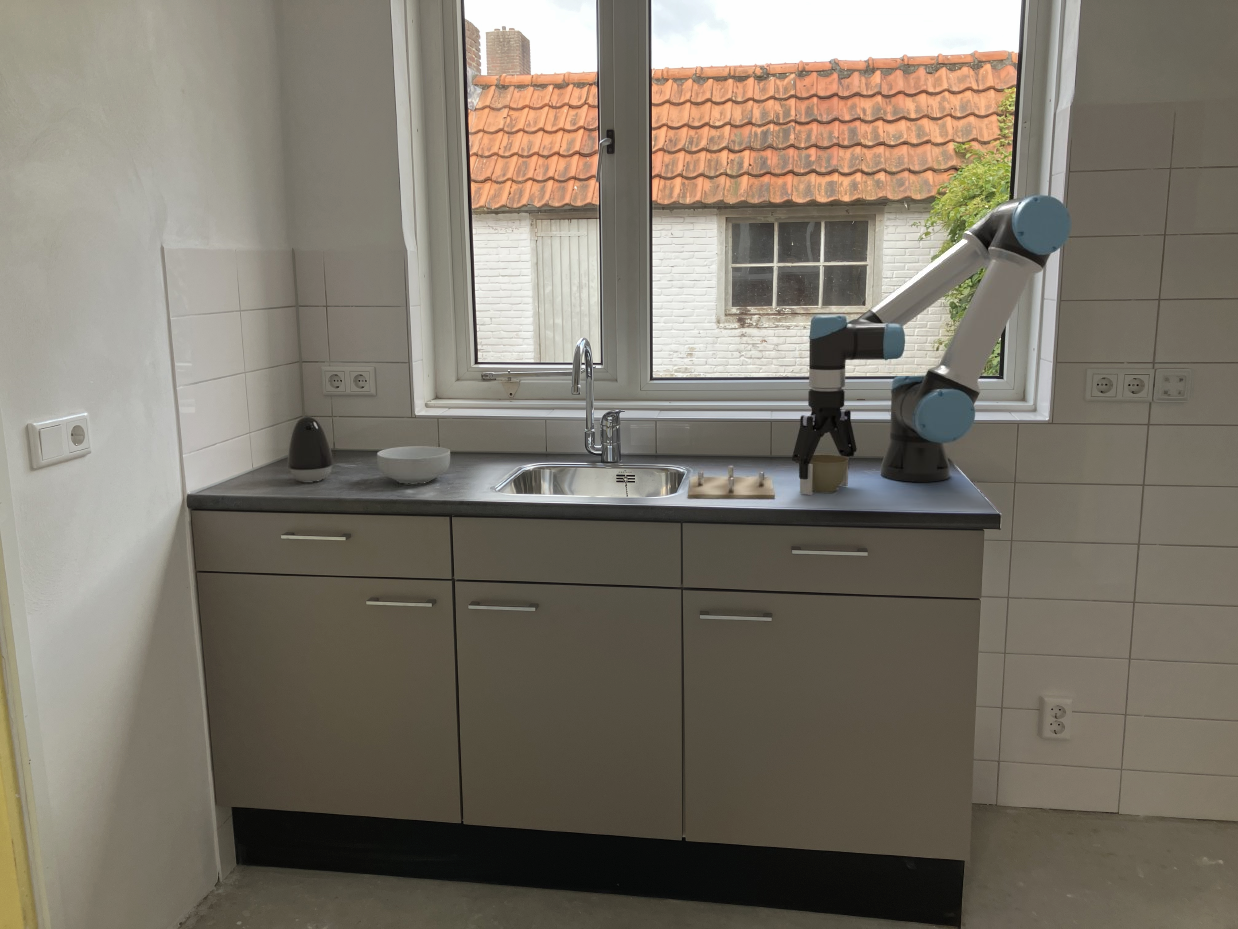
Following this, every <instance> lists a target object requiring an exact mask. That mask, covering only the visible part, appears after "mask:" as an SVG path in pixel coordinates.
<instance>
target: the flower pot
mask: <svg viewBox="0 0 1238 929" xmlns="http://www.w3.org/2000/svg"><path fill="white" fill-rule="evenodd" d="M839 455H840V454H839ZM839 455H838V454H828V453H827V454H826V453H814V454H813V457H812V459H811V461H810V464H813V475H812V492H814V493H820V494H833V493H835V492H837V490H838V489H839V487H840V484H841V482H842V480H843V478H844V476H845V473H846V471H847V467H848V462H849V463H850V457H849V458H847V457H844V456H841V455H840V456H839ZM805 458H806V457H805Z"/></svg>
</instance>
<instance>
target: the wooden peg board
mask: <svg viewBox="0 0 1238 929" xmlns="http://www.w3.org/2000/svg"><path fill="white" fill-rule="evenodd" d="M734 471H735V470H734V465H728V466H727V476H704V474H705V473H704V471H702V470H700V471H697V476H690V480H689V481H690V482H689V487H688V489H689V490H688V497H687V498H688V499H765V500H767V499H771V500H772V499H775V498H776V494H775V490H774V486H773V485H774V484H773V481H772V477H771V476H765V471H758V476H735V475H734V473H735V472H734Z"/></svg>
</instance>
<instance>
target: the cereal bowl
mask: <svg viewBox="0 0 1238 929" xmlns="http://www.w3.org/2000/svg"><path fill="white" fill-rule="evenodd" d="M376 460H377V461H376V462H377V466H378V469H379V471H380V472H381V473H382V474H383V475H384V476H386V477H388V478H389V479H392V480H394V481H396V482H397V483H398V482H399V483H398V484H401V483H423V484H425V483H424V482H428V483H430V482H429V481H431V480H432V481H433V479H435V478H438V477H440V476H442V475H443V474H445V472H446V471H447V470H448V468H449V466H450V463H451V450H450V449H448V448H445V447H439V446H423V445H420V446H419V445H418V446H412V445H411V446H399V447H390V448H386V449H382V450H380V451H377V453H376ZM432 481H431V482H432Z"/></svg>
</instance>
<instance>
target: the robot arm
mask: <svg viewBox="0 0 1238 929" xmlns="http://www.w3.org/2000/svg"><path fill="white" fill-rule="evenodd" d="M1071 230H1072V218H1071V216H1070V213H1069V210H1068V208H1067V206H1065V204H1064V203H1063V202H1062V201H1061V200H1059V199H1058V198H1056V197H1053V196H1051V195H1045V194H1044V195H1043V194H1032V195H1028V196H1026V197H1020V198H1011V199H1008V200H1006V201H1004V202H1002V203H1000V204H999V205H997V206H995V207H994V208H993V209H991V211H989V212H987V213H986V214H985V215H984V216H983V217H981V219H979V220H978V221H977V222H976V223H974V224H973V225H971V227H969V228H968V229H967V230H965V231H964V232H963V233H962V237H961V240H960V241H959V242H957V243H956V244H955V245H953V246H952V247H951V248H949V249H948V250H946V251H945V252H944V253H942V254H941V255H939V257H937V258H935V260H933V261H932V262H930V263H929V264H928V265H926V266H925V267H924V268H923V269H921V270H920V271H918V273H916V274H915V275H913V276H912V277H910V278H909V279H908V280H907V281H905V282H904V283H902V284H901V285H900V286H899V287H897V288H896V289H895V290H893V291H892V292H890V293H889V294H888V295H886V296H885V297H884V298H883V299H881V300H880V301H879V302H877V303H876V304H874V305H873V306H872V307H871V308H869V309H868V310H866V312H864V313H863V314H861V315H860V316H858V317H857V318H854V319H851V320H848V321H847V319H848V318H847V316H846V315H843V314H817V315H814V316H812V317H811V319H810V325H809V326H810V327H809V336H808V339H809V341H808V342H809V346H808V347H809V351H808V352H809V354H808V355H809V356H808V359H809V363H808V364H809V365H808V366H809V370H808V371H809V373H808V377H809V378H808V387H810V389H809V390H808V394H807V395H808V397H807V401H808V402H807V405H808V407H810V408H811V413H810V414H809V415H806V414H805V415H803V414H802V415H801V416H800V418H799V430H798V433H797V437H796V440H795V441H796V442H795V443H794V444H795V445H794V449H793V452H792V457H791V460H792V462H795V464H796V463H797V464H798V477H799V494H801V495H802V494H803V495H808V496H811V495H813V490H812V475H813V464H810V461H811V459H812V457H813V454H815V453H816V450H817V447H818V445H819V443H820V441H821V438H823V437H824V436H825V434H827V433H829V434H830V437H831V438H832V441H833V443H834V445H835V447H836V449H837V452H838V454H839V456H844V457H847V458H849V459H850V457H851V458H852V457H854V455H855V453H856V452H857V450H858V448H857V445H856V439H855V434H854V430H853V426H852V421H851V419H852V418H851V417H852V416H851V415H852V412H851V410H849V409H842V408H843V407H844V406H845V396H846V395H845V393H846V391H845V390H844V389H843V388H845V387H846V362H847V361H855V360H857V361H860V360H862V361H865V360H867V361H868V360H869V361H870V360H873V361H874V360H875V361H876V360H877V361H878V360H879V361H880V360H881V361H888V360H897V359H900V358H901V357H902V356H903V354H904V353H905V346H906V334H905V329H904V327H905V325H907V324H908V323H910V322H911V321H912V320H914V319H915V318H916V317H918V316H919V315H921V314H922V313H923V312H924V311H926V310H927V309H928V308H930V307H931V306H933V305H934V304H935V303H936V302H938V301H939V300H941V299H942V298H943V297H945V296H946V295H947V294H949V293H950V292H952V290H954V289H956V288H957V287H958V286H959V285H961V284H962V283H964V282H965V281H966V280H967V279H969V278H970V277H972V276H973V275H974V274H976V273H977V272H978V271H980V270H981V269H982V268H986V270H985V271H984V274H983V276H982V278H980V279H981V280H980V281H979V284H978V286H977V287H976V289H975V291H974V293H973V295H972V297H971V300H970V302H969V303H968V306H967V307H966V310H965V311H964V314H963V316H962V317H961V320H960V321H959V324H958V326H957V327H956V330H955V331H954V334H953V336H952V337H951V339H950V342H949V344H948V345H947V348H946V350H945V352H944V354H943V356H942V358H941V360H940V362H939V364H938V365H936V366H933V367H930V368H928V369H927V372H926V374H924V375H898V376H896V377H894V378H893V380H892V383H891V389H890V393H891V396H890V399H891V400H890V403H891V404H890V428H889V429H890V430H889V431H890V432H889V434H890V435H889V436H890V437H889V444H888V446H887V447H886V450H885V454H884V457H883V459H882V462H881V465H880V475H881V476H882V477H884V478H887V479H891V480H896V481H903V482H913V483H914V482H915V483H916V482H917V483H923V482H924V483H925V482H926V483H929V482H940V481H946V480H948V479H949V478H950V477H951V474H950V473H951V466H950V463H949V459H948V456H947V452H946V449H945V445H944V444H948V443H949V444H951V443H954V442H956V441H958V440H960V439H962V438H963V437H965V436H966V434H968V432H970V430H971V428H972V427H973V425H974V422H975V419H976V410H975V409H976V408H975V404H976V402H977V399H978V398H979V396H980V393H981V389H980V386H979V383H978V381H979V379H980V377H981V375H982V373H983V371H984V369H985V367H986V365H987V363H988V361H989V359H990V357H991V355H992V353H993V351H994V349H995V347H996V346H997V344H998V342H999V340H1000V338H1001V336H1002V333H1003V332H1004V330H1005V328H1006V326H1007V324H1008V322H1009V320H1010V318H1011V316H1012V314H1013V312H1014V310H1015V308H1016V306H1017V304H1018V302H1019V300H1020V298H1021V296H1022V294H1023V292H1024V290H1025V289H1026V286H1027V284H1028V283H1029V280H1030V278H1031V277H1032V276H1033V275H1035V274H1038V273H1041V272H1043V270H1044V268H1045V266H1046V264H1047V262H1048V260H1049V258H1050V256H1051V255H1052V253H1055V252H1057V251H1058V250H1059V249H1061V248H1062V247H1063V246H1064V245H1065V244H1066V242H1067V241H1068V239H1069V237H1070V235H1071ZM805 457H806V458H805ZM849 469H850V461H849V462H848V467H847V471H846V473H845V476H844V478H843V480H842V482H841V484H840V486H841V487H849ZM840 486H839V487H840Z"/></svg>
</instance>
